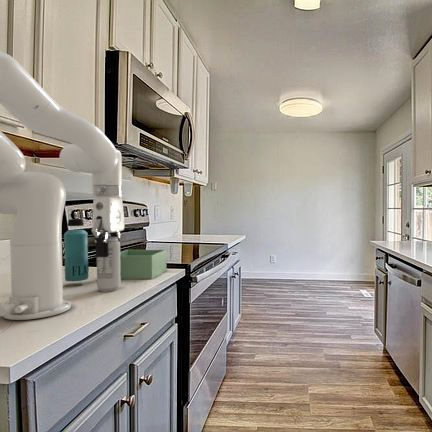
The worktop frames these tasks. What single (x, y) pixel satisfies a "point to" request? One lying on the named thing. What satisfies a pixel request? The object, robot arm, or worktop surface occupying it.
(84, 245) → the beverage bottle
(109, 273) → the energy drink can
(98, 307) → the worktop surface
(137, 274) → the green storage box
